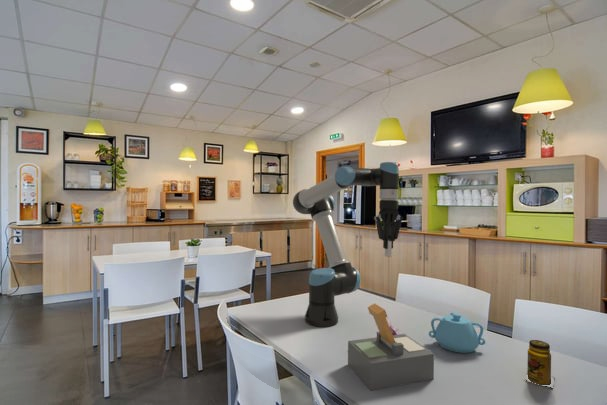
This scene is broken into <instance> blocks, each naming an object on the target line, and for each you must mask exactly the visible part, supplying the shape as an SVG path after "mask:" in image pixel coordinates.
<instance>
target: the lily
mask: <svg viewBox="0 0 607 405" xmlns="http://www.w3.org/2000/svg"><path fill="white" fill-rule="evenodd" d="M387 318H388V319H387V320H388V325H389V327H390V330H391V332H392V335H399V334H400V333H399V332H398V329H395V328H394V326H393V324H392V323H393V322H391V320H390V318H389V317H387Z"/></svg>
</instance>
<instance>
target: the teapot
mask: <svg viewBox="0 0 607 405" xmlns="http://www.w3.org/2000/svg"><path fill="white" fill-rule="evenodd" d="M435 321H436V322H437V321H439V323H438V324H437V326H436V327H435ZM430 326H431V329H432V330H429V332H428V336H429V337H430V338H432V339H435V341H436V342H437V343H438V345H439V346H440V347H441V348H444V349H445V350H447V351H450V352H451V351H452V352H454V353H455V352H456V353H463V354H464V353H465V354H469V353H471V352H473V351H475V350H476V349H478V348H479V346H483V345H485V344H486V339H485V338H484V337H482V336H483V334H484V327H483V325H482V324H481V323H479V322H477V321H473V322H471V320H470V319H468V318H467V317H464V316H462V314H460V313H457V312H451V313H450V314H448V315H445V316H443V317H442V318H441V317H434V318H432V319H431V321H430ZM474 326H478V327H479V328H480V332H479V334H478V332H477V330H476V328H475V327H474Z"/></svg>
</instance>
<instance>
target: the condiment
mask: <svg viewBox="0 0 607 405" xmlns="http://www.w3.org/2000/svg"><path fill="white" fill-rule="evenodd" d="M528 343H529V346H528V349H527V369H526V370H527V371H526V375H528V379H529V380H530V381H531V382H533V383H536V384H539V385H538V386H540V385H550V384H551V377H552V354H551V352H550V351H551V350H550V349H551V346H550V344H549V343H548V342H546V341H543V340H538V339H530V340H529V342H528ZM526 375H525V376H526ZM524 381H525V382H527V383H531V382H528V381H526V380H525V379H524ZM533 383H531V384H533ZM536 384H535V385H536ZM546 388H547V389H551V388H550V387H546Z"/></svg>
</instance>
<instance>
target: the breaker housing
mask: <svg viewBox="0 0 607 405" xmlns="http://www.w3.org/2000/svg"><path fill="white" fill-rule="evenodd" d="M393 337H394V340H395V343H394V344H392V349H391V348H390V347H388V346H387V345H386V344H385V343H383V342H382V341H381V335H380V332H379V331H376V337H369V338H361V339H354V340H353V339H352V340H348V341H347V365H348V366H349V367H350V369H352V371H353V372H354V373H355V374H356V375H357V376H358V378H359V379H360V380H361V381H362V382H363V384H364V385H365V386H366V387H367V388H368V389H369V390H370V391H375V390H381V389H387V388H391V387H398V386H403V385H408V384H409V385H410V384H415V383H420V382H424V381H430V380H434V376H435V374H434V373H435V372H434V370H435V368H434V367H435V353H434V352H432V351H430V350H429V349H427V348H426V347H424V346H423V345H421V344H420V343H418V341H416V340H415V339H413V338H411V337H410V336H408V335H406V333H399V335H393Z"/></svg>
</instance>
